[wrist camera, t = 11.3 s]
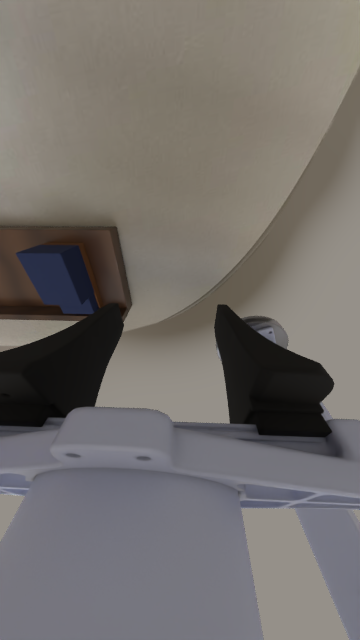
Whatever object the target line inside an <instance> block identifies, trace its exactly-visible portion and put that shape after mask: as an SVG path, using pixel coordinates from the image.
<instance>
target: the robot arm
mask: <svg viewBox="0 0 360 640" xmlns="http://www.w3.org/2000/svg"><path fill="white" fill-rule="evenodd" d="M123 327H124V324H123V320H122V316H121V312H120V309H119V305H118V303H109V304H107V305H105V306H104V307H102V308H101V309H99V310H97V311H96V312H94V313H93V314H91V315H89V316H88V317H86V318H84V319H83V320H81V321H79V322H77V323H76V324H74V325H72V326H70V327H68V328H66V329H64V330H62V331H60V332H58V333H55V334H53V335H51V336H48V337H46V338H43V339H41V340H38V341H35V342H32V343H30V344H27V345H23V346H20V347H18V348H14V349H10V350H7V351H3V352H0V494H9V495H20V496H25V497H24V499H23V501H22V503H21V505H20V507H19V509H18V510H17V512H16V514H15V516H14V518H13V520H12V522H11V523H10V525H9V527H8V529H7V531H6V533H5V535H4V537H3V538H2V540H1V542H0V640H264V639H263V633H262V627H261V621H260V615H259V609H258V604H257V598H256V592H255V586H254V580H253V575H252V569H251V563H250V558H249V552H248V546H247V540H246V534H245V528H244V522H243V516H242V511H241V508H295V510H296V513H297V515H298V518H299V520H300V523H301V525H302V527H303V530H304V532H305V535H306V537H307V539H308V542H309V544H310V546H311V549H312V551H313V553H314V556H315V559H316V561H317V563H318V566H319V568H320V571H321V573H322V575H323V578H324V580H325V582H326V585H327V587H328V590H329V592H330V594H331V597H332V599H333V602H334V604H335V606H336V609H337V611H338V614H339V615H340V618H341V621H342V623H343V626H344V628H345V630H346V633H347V635H348V638H349V640H360V522H359V520H358V519H357V517H356V515H355V513H354V511H353V510H360V421H359V420H354V419H353V420H352V419H333V418H332V416H331V415H330V413H329V412H328V410H327V409H326V407H325V406H324V404H323V403H322V400H323V399H324V398H325V397H326V396H327V395H328V394H329V393H330V392H331V391H332V389H333V387H334V382H333V379H332V378H331V377H330V376H329V374H328V373H327V372H326V370H325V369H324V368H323V367H322V365H321V364H320V363H318V362H315V361H313V360H310V359H307V358H305V357H303V356H300V355H298V354H295V353H294V352H291V351H289V350H287V349H285V348H283V347H281V346H279V345H277V344H276V340H275V335H274V331H273V328H272V327H267V328H263V329H260V330H257V331H255V330H254V329H253V328H251V327H250V326H249V325H248V324H246V323H245V322H244V321H243V320H242V319H241V318H240V317H239V316H237V315H236V314H235V313H234V312H233V311H232V310H231V309H230V308H229V307H228V306H227V305H218V306H217V313H216V319H215V327H214V328H215V337H216V342H217V346H218V350H219V353H220V357H221V361H222V365H223V370H224V377H225V383H226V391H227V399H228V407H229V417H230V424H224V423H223V424H222V423H195V422H172V420H171V419H170V417H169V416H168V415H166V414H165V413H162V412H160V411H158V410H151V409H144V408H142V409H141V408H114V407H113V408H112V407H95V403H96V399H97V396H98V392H99V389H100V386H101V382H102V379H103V376H104V373H105V370H106V368H107V365H108V363H109V360H110V358H111V356H112V354H113V352H114V350H115V348H116V346H117V344H118V341H119V339H120V337H121V334H122V331H123ZM270 331H271V332H270Z"/></svg>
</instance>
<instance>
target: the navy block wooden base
mask: <svg viewBox="0 0 360 640" xmlns="http://www.w3.org/2000/svg"><path fill="white" fill-rule="evenodd" d="M16 255H17V257H18V259H19V261H20V262H21V264H22V266H23V268H24V270H25V271H26V273H27V275H28V277H29V278H30V280H31V282H32V284H33V285H34V287H35V289H36V291H37V292H38V294H39V296H40V298H41V299H42V301H43V303H44V304H45V305H59V306H60V308H61V310H62V312H63V313H64V314H93V313H94V312H96V311H97V310H98V309H99V308H101V307H102V305H103V302H102V299H101V296H100V293H99V290H98V287H97V284H96V280H95V277H94V274H93V271H92V268H91V265H90V262H89V259H88V256H87V252H86V249H85V246H84V243H44V244H41V245H38V246H35V247H32V248H29V249H26V250H23V251H20V252H17V253H16Z"/></svg>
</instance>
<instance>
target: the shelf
mask: <svg viewBox="0 0 360 640" xmlns="http://www.w3.org/2000/svg"><path fill="white" fill-rule="evenodd" d="M44 243H84V246H85V249H86V252H87V256H88V259H89V262H90V265H91V268H92V271H93V274H94V277H95V280H96V284H97V287H98V290H99V293H100V296H101V299H102V302H103V305H102V307H104V306H105V305H107V304H109V303H118V305H119V309H120V312H121V316H122V320H123V322H124V320H125V318H126V316H127V314H128V312H129V310H130V308H131V306H132V302H131V297H130V292H129V287H128V282H127V277H126V272H125V268H124V263H123V258H122V253H121V248H120V243H119V238H118V233H117V228H116V227H26V226H0V319H16V320H63V321H81V320H83V319H84V318H86V317H88V316H89V315H91V314H64V313H63V312H62V310H61V308H60V306H59V305H45V304H44V303H43V301H42V299H41V298H40V296H39V294H38V292H37V291H36V289H35V287H34V285H33V284H32V282H31V280H30V278H29V277H28V275H27V273H26V271H25V270H24V268H23V266H22V264H21V262H20V261H19V259H18V257H17V255H16V253H17V252H20V251H23V250H26V249H29V248H32V247H35V246H38V245H41V244H44ZM102 307H101V308H102ZM101 308H99V309H101ZM99 309H98V310H99Z"/></svg>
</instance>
